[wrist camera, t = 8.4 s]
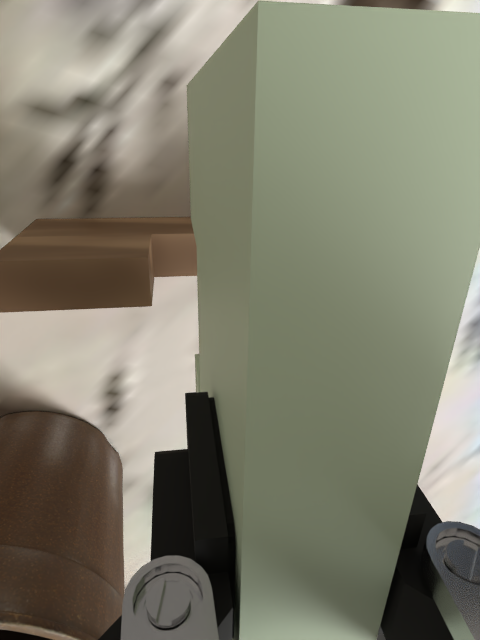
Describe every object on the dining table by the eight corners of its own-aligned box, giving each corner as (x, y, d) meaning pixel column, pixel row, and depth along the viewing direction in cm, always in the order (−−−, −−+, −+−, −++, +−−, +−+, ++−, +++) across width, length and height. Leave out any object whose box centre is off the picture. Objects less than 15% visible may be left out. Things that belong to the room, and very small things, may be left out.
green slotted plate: (243, 430, 23) (331, 809, 11) (197, 434, 23) (233, 830, 10) (252, 87, 16) (539, 16, 4) (186, 85, 16) (258, 0, 3)
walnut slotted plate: (353, 250, 30) (411, 295, 23) (43, 258, 27) (-2, 312, 20) (358, 214, 29) (421, 250, 21) (36, 219, 26) (-14, 261, 19)
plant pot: (166, 396, 33) (165, 622, 18) (138, 544, 39) (121, 798, 25) (-80, 372, 29) (-322, 631, 15) (-66, 540, 35) (-225, 835, 21)
